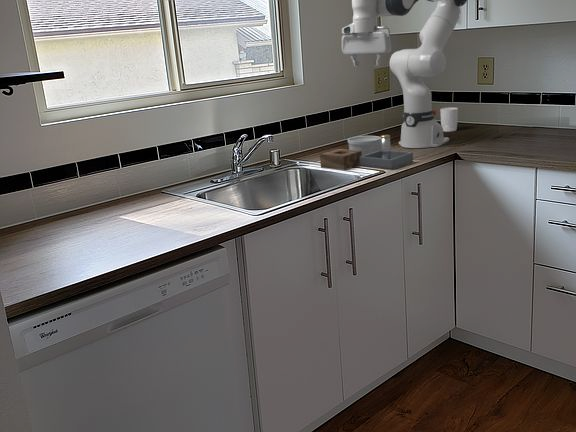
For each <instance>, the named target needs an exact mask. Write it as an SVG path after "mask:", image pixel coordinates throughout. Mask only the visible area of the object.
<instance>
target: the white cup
mask: <svg viewBox="0 0 576 432" xmlns="http://www.w3.org/2000/svg"><path fill="white" fill-rule="evenodd" d="M439 112H440V113H439V115H440V125H441V126H442V127H443V132H445V133H446V132H449V133H450V132H455V131H457V129H458V127H457V126H458V119H459V117H458V115H459V108H458V107H442V108H440V109H439Z"/></svg>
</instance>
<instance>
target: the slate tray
mask: <svg viewBox="0 0 576 432" xmlns="http://www.w3.org/2000/svg"><path fill="white" fill-rule="evenodd" d="M413 153H414V152H411V151H401V150H391V159H381V149H380V150H379V151H376V152H373V153H370V154H367V155H364V156H361V157H359V161H360V165H359V167H363V168H373V169H382V170H395V169H398V168H400V167H403V166H406V165H408V164H411V163H413V162H414V155H413Z"/></svg>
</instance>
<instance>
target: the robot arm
mask: <svg viewBox="0 0 576 432" xmlns="http://www.w3.org/2000/svg"><path fill="white" fill-rule="evenodd" d="M426 1H427V2H432V3H434V2H437V5H436V8H435V9H434V10H433V11H432V13H431V15H429V17H428V19H427V21H426V22H425V24H424V26H423V27H422V28H421V30H420V31H419V41H420V42H421V45H420V46H419V47H417V48H404V49H401V50H397V51H394V53H392V54H391V56H390V58H389V68H390V71H391V72H392V73H393V75H395V76H396V78H397V79H398V81H399V84H400V87H401V89H402V95H403V96H402V97H403V113H402V117H403V119H402V120H403V123H402V125H401V129H400V130H401V133H400V140H399V141H398V145H400V147H402V148H406V149H408V148H409V149H421V148H422V149H424V148H437V147H440V146H442V145H444V144H446V143H447V142H449V141H450V137H446V136H444V131H443V127H442V125H441V123H439V122H437V120H436V119H435V116H437V115H438V110H437V109H432V107H433V106H432V104H433V103H432V91H431V89H430V88H429V87H427V85H426V84H425V83H424V80H423V78H424V77H425V78H431V77H435V76H439V75H441V74H442V73H443V72H444V71H445V68H446V66H447V58H446V56H445V53H444V47H445V45H446V43H447V41H448V40H449V38H450V36H451V35H452V33H453V31H454V29H455V27H456V25H457V24H458V22H459V18H460V16H459V14H460V15H461V9H460V8H461V7H462V6H464V5H466V3H467V1H468V0H426ZM417 2H419V0H351V8H352V11H353V12H352V13H353V16H352V23H350V24H348V25H346V26H345V27H342V28H341V34H343V35H342V36H341V53H342V54H343V55H344V56H345V55H350V59H351V60H352V63H353V67H354V68H355V67H356V68H358V67H360V61H358V59H357V57H358V55H365V54H367V55H368V54H369V55H370V54H375V55H376V57H377V58H376V61H373V63H374V65H373V66H374V67H380V66H381V61H382V58H383V56H384V54H387V53H390V52H391V51H392V41H391V33H390V32H391V31H390V28H389V27H387V26H386V25H383V26H378V18H380V17H393V16H394V17H395V16H396V17H403V16H406V15H408V14H409V13H410V12H411V10H412V8H413V7H414V5H416V3H417Z"/></svg>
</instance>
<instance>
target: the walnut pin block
mask: <svg viewBox="0 0 576 432" xmlns="http://www.w3.org/2000/svg"><path fill="white" fill-rule="evenodd" d="M361 156H362V151H357V150H349V149H344V148H337V149H333V150H330V151H326V152H323V153H320V154H319V159H320V160H319V161H320V168H321V169H332V170H338V171H339V170H341V171H345V170H349V169H351V167H352V168H354V166H355V167H358V166H360V161H359V157H361Z"/></svg>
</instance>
